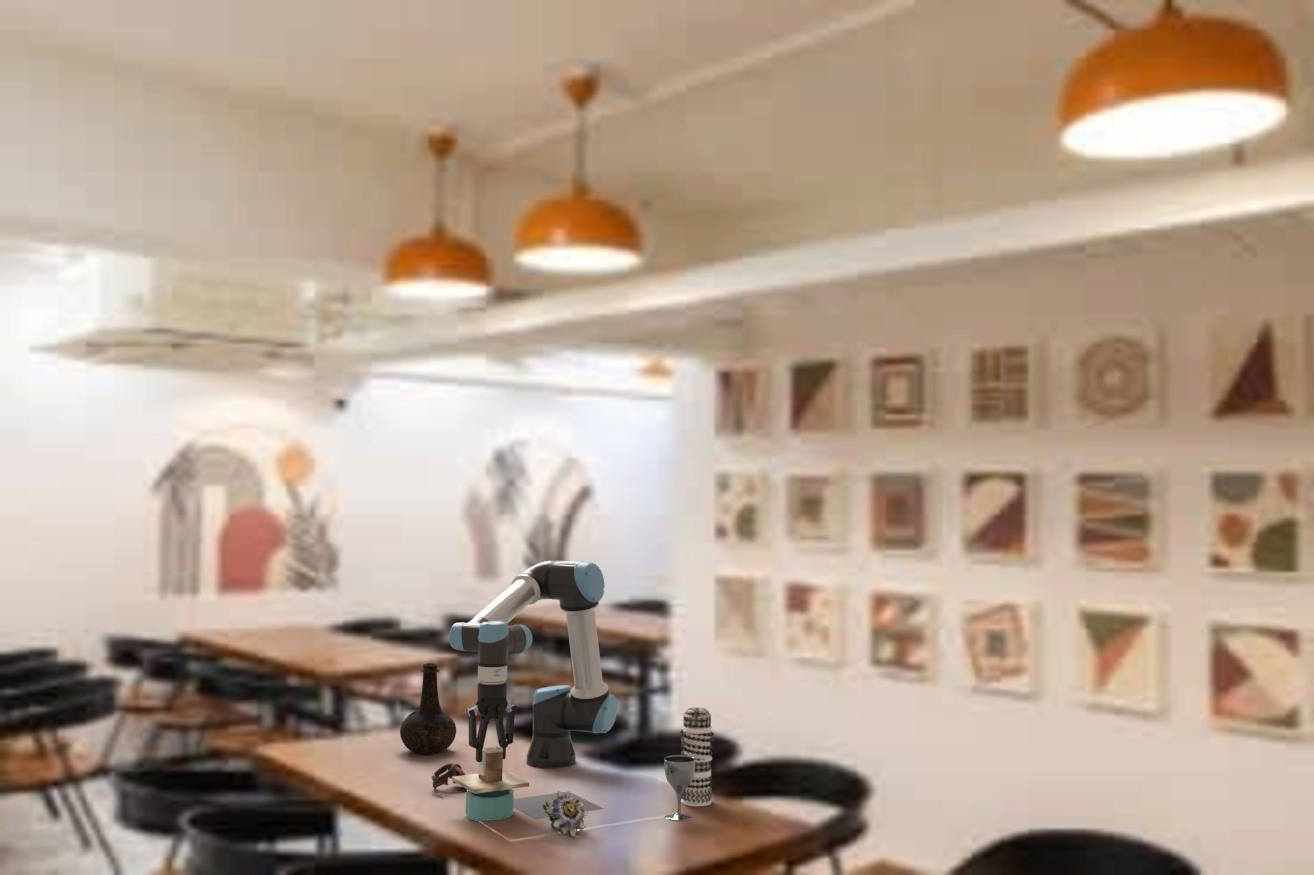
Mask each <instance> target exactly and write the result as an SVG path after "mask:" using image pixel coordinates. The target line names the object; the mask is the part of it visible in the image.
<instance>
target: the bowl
mask: <svg viewBox="0 0 1314 875" xmlns="http://www.w3.org/2000/svg"><path fill="white" fill-rule="evenodd" d="M514 799H515V790H513V789H506V790H499V791H491V792H484V793H476V794H474V793H472V792H471V791H469V790H468V791H467V792H466V794H465V817H466V819H468V818H469V819H470V820H469V819H468V820H469V821H472V820H477V821H481V822H480V823H483V821H499V820H504V819H508V818H510V817H512V816H513V815H514ZM477 821H476V822H477Z"/></svg>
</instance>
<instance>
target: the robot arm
mask: <svg viewBox="0 0 1314 875" xmlns="http://www.w3.org/2000/svg"><path fill="white" fill-rule="evenodd" d="M605 587H606V586H605V577H604V576H603V572H602V570H601V568H600V567H599V566H598V565H597V564H596V563H594V562H589V561H584V560H579V561H578V560H577V561H575V560H553V559H552V560H551V559H549V560H545V561H541V562H538V563H535V564H534V565H531V566H529V567H528V568H526V569H525V570H523V571H522V572H520V573H519V574H518V575H517V576H515V577H513V580H512V581H511V585H510V586H509V587H507V588H506V590H504V591H503V592H502V593H501V594H499V595H498V596H497V597H496V598H494V599H493V601H491V602H490V603H489V604H487V606H486V607H484V608H483V609H482V610H481V611H479V612H478V613H477V614H476V615H475V616H473V618H471V619H470V620H469V621H468V622H465V621H462V622H455V623H453V625H452V626H451V628H450V629H449V633H448V640H449V645H450V647H451V648H452V649H453V650H456V651H463V652H474V653H475V652H477V653H478V666H477V681H478V683H477V700H476V704H475V706H473V707H471V708H470V707H467V708H466V709H465V711H466V714H467V718H468V746H469V747H471V748H473V749H475V762H478V773H479V774H480V775H482V776H485V769H486V750H485V749H483V748H484V745H485V740H486V737H487V731H488V726H489V724H490V721H491V720H492V719H493V720H494V724H495V729H496V735H497V741H498V745H496V746H495V748H496V749H498V750H500V751H503V760H505V759H506V758H507V757H506V756H507V748H508V746H509V745H512V744H513V743H514V735H515V733H514V730H515V714H516V712H517V709H518V706H517V705H515V704H512V703H511V704H510V703H509V702H508V700H507V693H508V692H507V691H508V683H506V681H507V680H508V656H513V655H516V654H517V655H519V654H522V653H524V652H526V651H528V650H529V649H530V648H531V646H532V643H533V634H532V632H531V630H530V628H528V627H527V626H526V625H524V624H512V625H509V622H511V621H512V620H513V619H514V618H515V617H517V615H519V614H520V613H521V612H522V611H523V610H524V609H525V608H527V607H528V606H531V605H534V604H536V603H537V602H538V601H540V600H557V601H559V607H560V608H559V609H560V610H561V611H563V613H565V615H566V616H565V617H566V624H567V633H568V640H569V648H570V657H571V666H572V673H573V674H572V675H573V676H572V677H573V682H574V683H573V684H574V686H571V685H567V684H565V685H564V684H562V685H553V686H546V687H541V688H538V689H536V690H535V691H534V693H533V702H532V737H531V741H530V745H529V747H528V750H527V754H526V764H527V765H528V766H529V765H530V766H532V767H538V768H549V769H550V768H551V769H552V768H554V769H555V768H562V767H563V768H565V767H568V766H573V765H575V764H576V757H577V756H576V752H575V749H574V745H573V741H572V739H571V738H572V737H571V731H572V732H573V731H576V732H584V733H593V734H606V733H607V732H609V731H610V730H611V729H612V727H614V723H615V721H616V718H617V715H618V708H619V707H618V706H619V704H618V699H617V697H616V696H615V695H614V694H612V693H611V694H610V690H609V686H608V684H607V683H606V682H604V681H603V674H602V672H603V671H602V664H601V656H600V654H601V653H600V646H599V645H600V644H599V639H598V636H599V635H598V629H597V628H598V627H597V620H596V612H595V610H596V608H597V607H598V606H599V603H600V601H601V600H602V598H603V596H604V593H605V591H604V589H605ZM478 712H479V714H480V717H479V726H478V725H477V724H478V723H477V721H478V720H477V716H478ZM504 712H506V718H505V726H504V716H503V713H504ZM477 726H478V727H477ZM477 728H478V730H477Z"/></svg>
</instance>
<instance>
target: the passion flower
mask: <svg viewBox="0 0 1314 875" xmlns="http://www.w3.org/2000/svg"><path fill="white" fill-rule="evenodd" d="M561 792H562V791H561V790H557V792H556V793H557V798H556V800H554V801H553V805H552V807H550V806H549V804H551V803H552V802H549V801H546V805H545V804H544V805H543V808H544V810H545V813H547V814H548V815H549V817H548V818H549V819H548V820H550V827H551V828H552V829H553V828H557V827H559V831H560V833H561V834H562V836H565V835H566V834H567V835H568V836H570V837H571V838H573V837H575V835H576V830H577V829H576V828H579V829H580V830H584V829H585V820H584V819H586V816H588V815H589V813H590V811H585V810H584V809H583V808H584V807H583V805H584V804H583V803H578V802H579V800H578V799H577V800H576V801H574V800H575V798H574V794H575V793H573V794H572V795H570V796H569V797H568V798H567V796H566V795H565V796H564V795H562V793H561ZM546 807H548V809H547V808H546ZM550 815H551V816H550Z"/></svg>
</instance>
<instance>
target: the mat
mask: <svg viewBox="0 0 1314 875" xmlns="http://www.w3.org/2000/svg"><path fill="white" fill-rule="evenodd" d="M560 792H561V793H562V795H564V796H565V795H566V796H567V798H568V797H569V796H570V795H572V794H574V798H575V800H574V801H576V800H577V799H578V800H579V802H578V803H583V804H584V805H583V807H584V808H583V809H584V810H585V811H588V812H591V811H598V810H603V809H604V808H603V807H601V806H599V805H598V804H595V803H593V802H592V801H589V800H587V799H585V798H584V797H581V796H579V795H577V794H575V793H572V792H571V791H563V792H562V791H560ZM556 798H557V792H553V793H548V794H547V793H546V794H540V795H533V796H532V795H531V796H527V797H519V798H514V808H515V809H516V810H518V811H519V812H521V813H523V814H524V815H527V816H529V817H530V818H532V819H533V820H538V819H545V818H550V817H549V815H548V814H547V813H545V810H544V808H543V805H544V804H545V805H546V801H549V802H552V803H551V804H549V806H550V807H552V805H553V801H554V800H556ZM546 808H547V809H548V807H546ZM550 816H551V815H550Z"/></svg>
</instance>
